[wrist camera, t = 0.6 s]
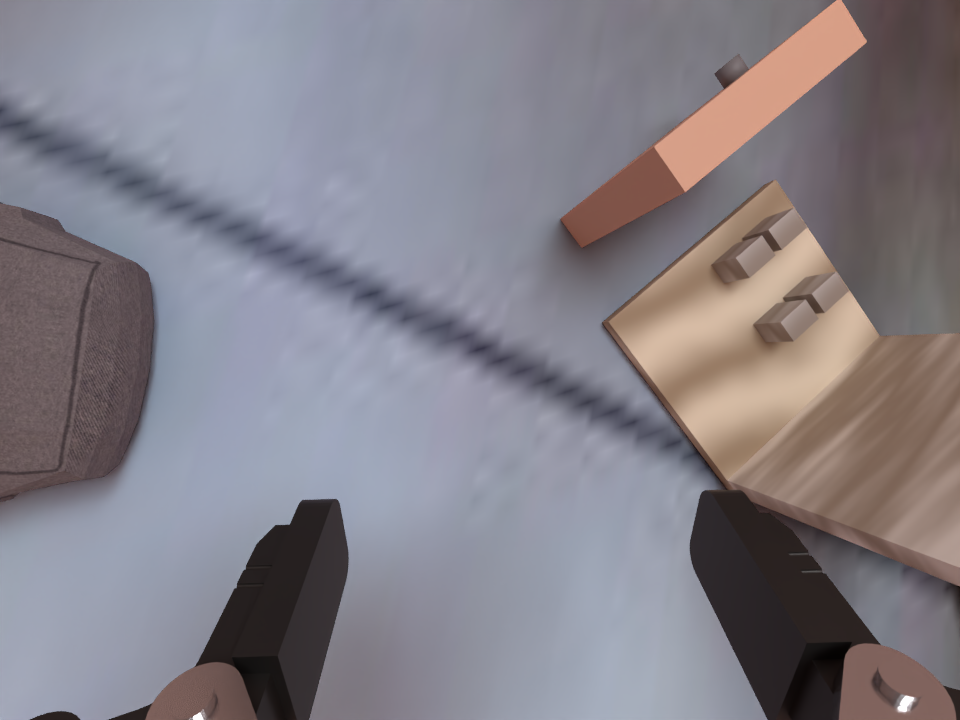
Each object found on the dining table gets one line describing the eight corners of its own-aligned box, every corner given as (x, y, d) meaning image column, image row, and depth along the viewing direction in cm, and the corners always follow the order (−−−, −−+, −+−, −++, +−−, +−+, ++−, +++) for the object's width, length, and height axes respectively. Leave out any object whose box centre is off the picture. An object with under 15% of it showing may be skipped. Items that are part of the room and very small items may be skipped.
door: (551, 206, 33) (640, 127, 22) (679, 104, 35) (828, -21, 23) (581, 247, 34) (685, 192, 22) (707, 145, 36) (867, 42, 24)
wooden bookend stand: (602, 322, 34) (893, 281, 15) (765, 184, 36) (1212, -15, 17) (729, 492, 36) (1138, 659, 16) (877, 351, 38) (1396, 351, 19)
